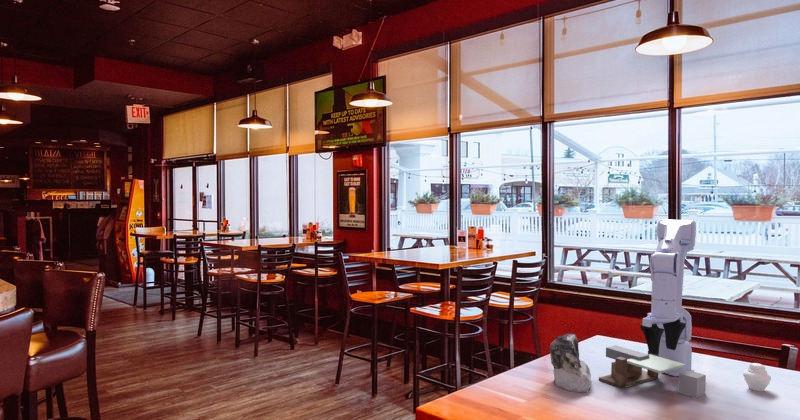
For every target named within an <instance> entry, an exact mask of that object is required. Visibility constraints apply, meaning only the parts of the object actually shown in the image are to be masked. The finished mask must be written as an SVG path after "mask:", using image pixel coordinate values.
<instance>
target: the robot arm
mask: <svg viewBox="0 0 800 420" xmlns="http://www.w3.org/2000/svg"><path fill="white" fill-rule="evenodd" d="M656 227H657V228H656V235H657V236H656V237H657V239H658V244H657V247H656V250H655V251H654V253H651V255H650V258H649V270H650V281H651V301H650V302H651V303H650V304H651V307H650V309H651V310H650V312H647V313H646V314H647V316H646V317H643V318H642V323H640V324H639V326H640V327H639V328H640V330H641V332H642V333H643V336H644V337H645V341H646V345H647V349H648V350H649V353H653V354H658V352H659V357H662V358H665V359H669V360H672V361H676V362H679V363H683V364H685V367H682V368H678V369H674V370H671V371H667V372H663V373H662V374H666V375H669V376H673V377H679V373H681V372H684V371H687V370H689V371H693V372H695V369H693V368H692V353H693V350H692V345H691V344H690V343H689V341H691V340H692V330H693V329H692V328H693V327H692V315H691V314H690V312H689V311H688V310H686V309H685V308H684V307H683V306H682V304H683V303H682V302H683V288H684V287H683V286H684V273H685V271H684V270H685V260H686V257H687V254H688V252H691V251H693V250H694V249H695V245H696V235H697V222H696V221H695V220H694V219H691V220H690V219H688V220H686V219H663V218H660V219H659V220H658V221H657V226H656ZM648 350H647V351H648Z"/></svg>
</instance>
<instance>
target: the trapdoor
mask: <svg viewBox="0 0 800 420" xmlns="http://www.w3.org/2000/svg"><path fill="white" fill-rule="evenodd" d="M617 357H623V358H626V359H627V363H628V364H631V365H634V366H637V367H641V368H642V369H644V370H647V369H648V370H651V371H654V372H657V373H658V374H664V373H663V372H667V371H671V370H674V369H678V368H682V367H685V364H683V363H679V362H676V361H672V360H669V359H665V358H662V357H658V356H655V355H651V354H649V355H648V353H644V352H640V351H637V350H634V349H631V348H626V347H623V346H619V345H611V346H608V347H605V358H608V359H613V360H615V358H617Z"/></svg>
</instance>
